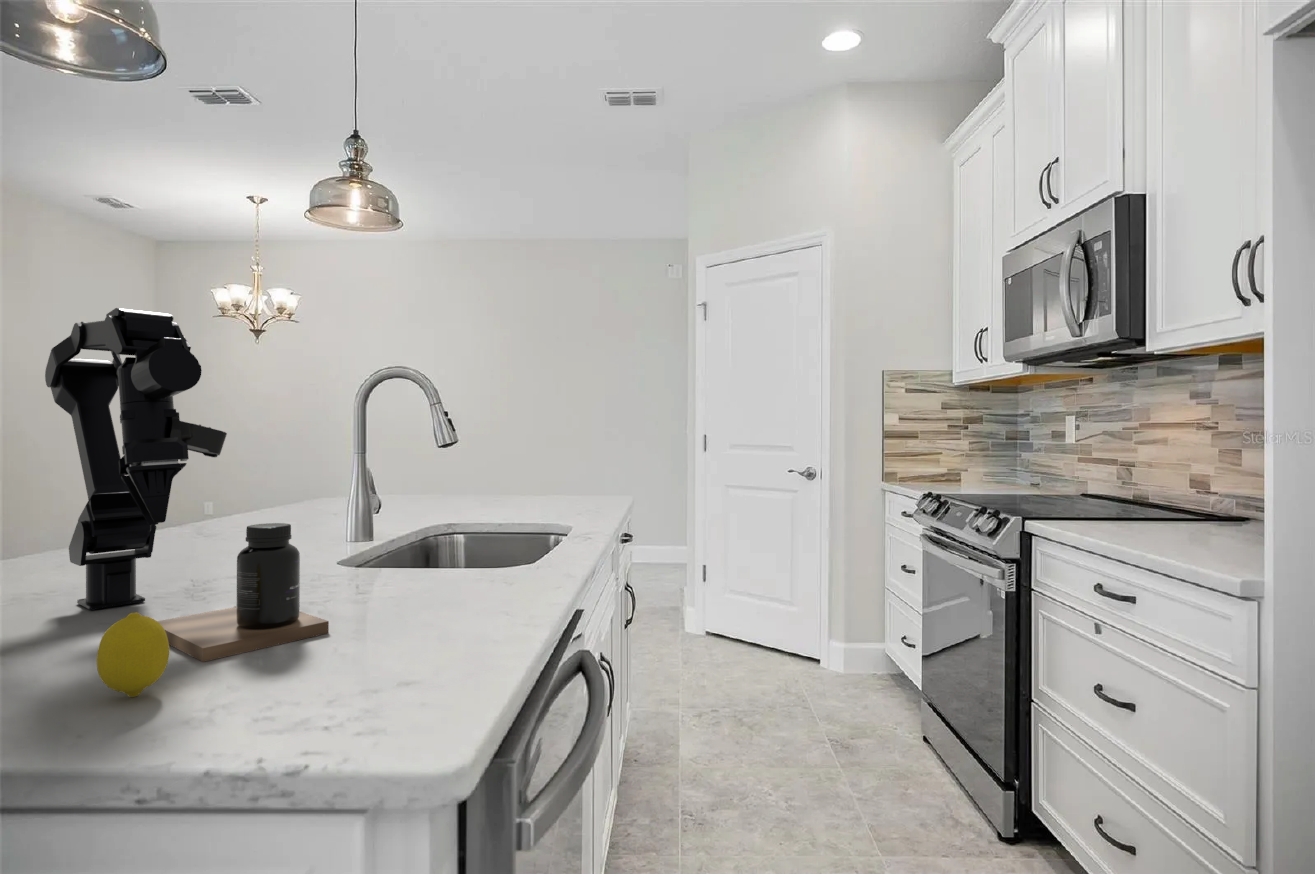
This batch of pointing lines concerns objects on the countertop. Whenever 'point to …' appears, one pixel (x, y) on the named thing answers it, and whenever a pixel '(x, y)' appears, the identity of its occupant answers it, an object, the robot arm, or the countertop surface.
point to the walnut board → (233, 633)
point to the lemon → (133, 654)
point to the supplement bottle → (268, 578)
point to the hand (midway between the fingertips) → (156, 523)
